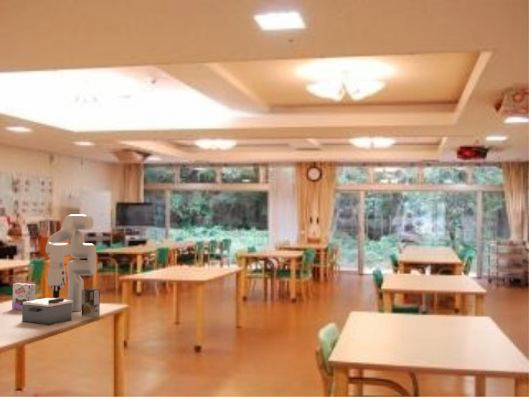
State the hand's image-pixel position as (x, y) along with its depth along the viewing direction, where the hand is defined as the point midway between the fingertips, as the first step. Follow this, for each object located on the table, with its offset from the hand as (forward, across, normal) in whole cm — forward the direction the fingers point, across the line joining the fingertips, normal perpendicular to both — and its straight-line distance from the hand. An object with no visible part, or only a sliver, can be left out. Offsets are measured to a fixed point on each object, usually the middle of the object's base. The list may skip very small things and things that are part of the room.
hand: (56, 297), depth 347 cm
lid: (+4, +6, 0) cm, 7 cm away
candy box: (+14, +48, -21) cm, 55 cm away
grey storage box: (+14, +6, 0) cm, 16 cm away
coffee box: (+14, -3, -25) cm, 29 cm away
